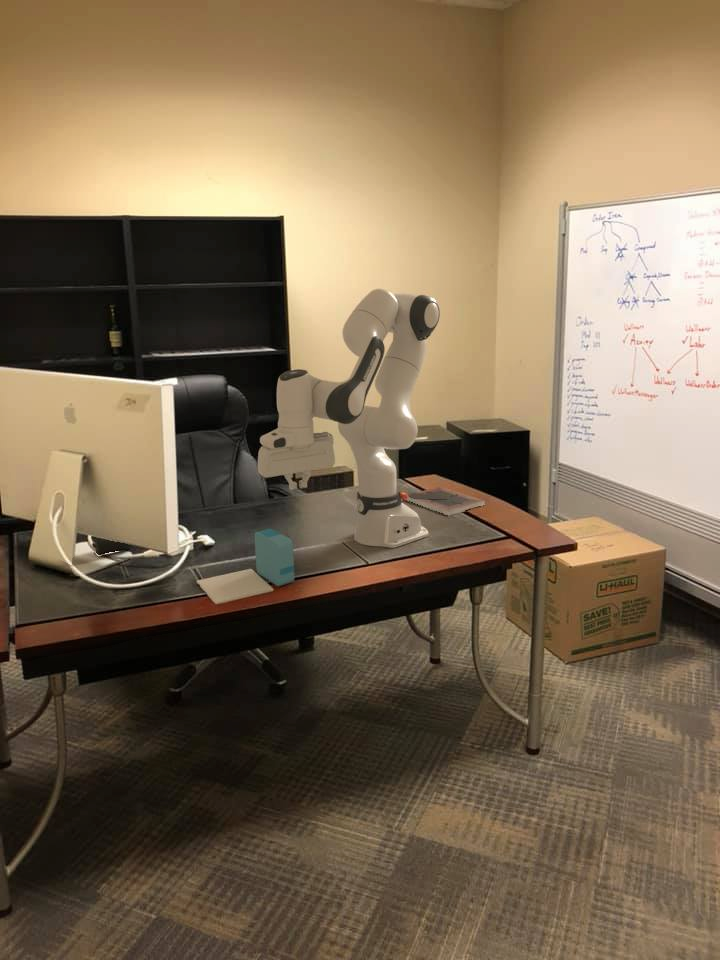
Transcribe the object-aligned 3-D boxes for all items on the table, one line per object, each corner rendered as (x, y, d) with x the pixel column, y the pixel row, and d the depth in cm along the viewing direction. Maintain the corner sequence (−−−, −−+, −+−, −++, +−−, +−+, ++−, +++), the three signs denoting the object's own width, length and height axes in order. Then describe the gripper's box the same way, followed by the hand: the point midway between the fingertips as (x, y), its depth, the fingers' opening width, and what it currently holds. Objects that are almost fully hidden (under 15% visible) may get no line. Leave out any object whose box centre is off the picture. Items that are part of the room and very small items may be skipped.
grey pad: (251, 570, 198) (251, 568, 198) (273, 590, 185) (273, 588, 185) (196, 582, 191) (196, 580, 191) (215, 604, 178) (215, 602, 178)
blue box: (295, 583, 189) (293, 539, 186) (279, 588, 187) (277, 543, 183) (271, 569, 198) (268, 526, 195) (256, 573, 196) (253, 530, 192)
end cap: (100, 560, 206) (97, 537, 204) (91, 553, 212) (89, 530, 210) (135, 551, 212) (132, 529, 210) (126, 544, 217) (123, 523, 216)
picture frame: (404, 501, 254) (448, 517, 238) (404, 494, 254) (448, 510, 237) (439, 492, 264) (484, 507, 247) (439, 485, 263) (484, 500, 247)
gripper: (327, 428, 193) (328, 479, 197) (253, 438, 184) (256, 491, 188) (338, 433, 188) (339, 485, 192) (263, 443, 178) (266, 498, 182)
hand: (298, 488), depth 190 cm, fingers closed
